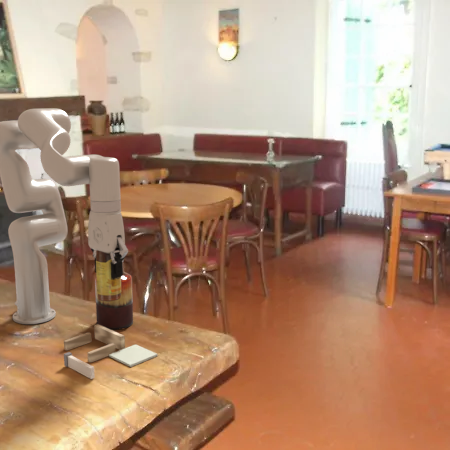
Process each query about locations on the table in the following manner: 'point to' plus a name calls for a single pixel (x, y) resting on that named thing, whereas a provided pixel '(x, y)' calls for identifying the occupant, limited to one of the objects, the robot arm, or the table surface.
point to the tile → (133, 355)
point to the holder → (102, 335)
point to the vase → (116, 307)
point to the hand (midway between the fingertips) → (108, 274)
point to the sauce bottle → (106, 278)
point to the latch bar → (78, 365)
